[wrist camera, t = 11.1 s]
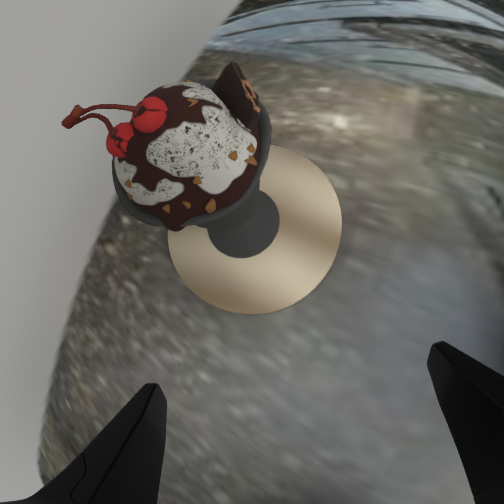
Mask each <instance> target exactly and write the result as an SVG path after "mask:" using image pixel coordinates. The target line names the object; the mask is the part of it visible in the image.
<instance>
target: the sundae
mask: <svg viewBox="0 0 504 504" xmlns="http://www.w3.org/2000/svg"><path fill="white" fill-rule="evenodd" d="M258 99H259V98H258V95H257V94H256V93H255V92H253V90H252V88H251V86H250V84H249V83H248V81H247V80H246V78H245V77H244V75H243V74H242V71H241V69H240V67H239V65H238V64H237V63H235V62H230V63H229V64H228V65H227V66H226V67H225V69H224V70H223V72H222V73H221V75H220V76H219V77H218V79H217V80H197V81H189V80H186V82H178V83H172V84H168V85H164V86H161V87H159V88H157V89H155V90H154V91H152V92H150V93H149V94H148V95H147V96H145V97H144V99H143V100H142V101H141V102H140V103H138V104H137V106H128V105H117V104H100V105H94V106H91V107H88V108H86V109H83V108H81V107H80V106H79V105H76V106H75V107H74V108H73V110H72V112H71V113H70V115H68V116H67V117H66V118H65V119H64V120H63V121H62V126H64V127H65V128H67V129H70V128H72V127H73V126H74V125H76V124H78V123H80V122H82V121H83V120H86V119H88V118H92V117H93V118H98V119H99V120H101V121H103V122H104V123H105V124H106V127H107V129H108V131H109V134H108V136H107V141H106V146H107V150H108V152H109V153H110V154H112V155H113V160H112V174H113V181H114V186H115V190H116V192H117V195H118V197H119V199H120V201H121V203H122V205H123V206H124V208H125V209H126V210H127V212H128V213H129V214H130V215H131V216H133V217H134V218H136V219H137V220H139V221H141V222H144V223H146V224H149V225H153V226H162V227H166V228H167V229H169V230H170V231H174V232H177V231H180V230H182V229H183V228H185V227H186V226H191V225H196V226H198V227H201V228H206V229H207V231H208V235H209V238H210V241H211V242H212V244H213V245H214V246H215V247H216V249H217V250H218V251H220V252H221V253H223V254H225V255H227V256H229V257H233V258H249V257H252V256H255V255H258V254H260V253H261V252H263V251H264V250H265V249H266V248H268V247H269V246H270V245H271V244H272V242H273V240H274V239H275V237H276V235H277V233H278V230H279V224H280V216H279V212H278V209H277V206H276V204H275V202H274V201H273V200H272V199H271V198H270V197H269V196H268V195H267V194H266V193H264V192H263V191H261V190H259V188H260V176H261V174H262V172H263V169H264V167H265V164H266V162H267V159H268V155H269V150H270V144H271V130H272V127H271V123H270V119H269V115H268V113H267V111H266V109H265V107H264V106H263V105H262V104H261V103H260V101H259V100H258ZM95 109H119V110H127V111H131V112H133V114H132V118H131V121H130V123H129V122H127V123H120V124H118V125H117V126H115V127H114V128H113V126H112V124H111V123H110V121H109V120H108V119H107V118H106V117H105V116H103V115H100V114H97V113H90V114H88V115H86V116H84V117H82V118H80V116H82V115H84V114H85V113H87V112H89V111H92V110H95Z"/></svg>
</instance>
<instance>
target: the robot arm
mask: <svg viewBox="0 0 504 504" xmlns="http://www.w3.org/2000/svg"><path fill="white" fill-rule="evenodd" d="M427 367H428V370H429V373H430V376H431V379H432V382H433V386H434V389H435V392H436V395H437V399H438V402H439V404H440V407H441V410H442V412H443V414H444V417H445V419H446V422H447V424H448V427H449V429H450V432H451V434H452V437H453V439H454V442H455V445H456V447H457V450H458V453H459V455H460V458H461V461H462V464H463V467H464V469H465V472H466V475H467V478H468V481H469V484H470V488H471V491H472V494H473V497H474V501H475V504H504V376H502V375H500V374H499V373H497V372H495V371H494V370H492V369H490V368H489V367H487V366H485V365H484V364H482V363H480V362H479V361H477V360H475V359H474V358H472V357H470V356H468V355H467V354H465V353H463V352H462V351H460V350H458V349H457V348H455V347H453V346H451V345H450V344H448V343H446V342H444V341H440V342H437V343H434V344H433V345H432V346H431V349H430V353H429V356H428V360H427ZM166 417H167V400H166V398H165V396H164V394H163V392H162V390H161V388H160V386H159V385H158V384H157V383H147V384H145V385H144V386H143V387H142V388H141V389H140V390H139V391H138V392H137V393H136V394H135V395H134V397H133V398H132V399H131V400H130V401H129V402H128V403H127V404H126V405H125V406H124V407H123V408H122V409H121V410H120V412H119V413H118V414H117V415H116V416H115V417H114V418H113V419H112V420H111V421H110V422H109V423H108V424H107V425H106V426H105V428H104V429H103V430H102V431H101V432H100V433H99V434H98V435H97V436H96V437H95V438H94V439H93V440H92V441H91V442H90V444H89V445H88V446H87V447H86V448H85V449H84V450H83V452H81V453H80V454H79V455H78V456H77V457H76V458H75V459H74V460H73V461H72V462H71V463H70V464H69V465H68V466H67V467H66V468H65V469H64V470H63V471H62V472H61V473H59V474H58V475H57V476H56V477H55V478H54V479H52V480H51V481H50V482H49V483H48V484H46V485H45V486H44V487H43V488H41V489H40V490H39V491H38V492H37V493H35V494H34V495H32V496H30V497H28V498H26V499H23V500H18V501H10V502H1V503H0V504H157V498H158V491H159V484H160V477H161V470H162V463H163V457H164V450H165V441H166Z"/></svg>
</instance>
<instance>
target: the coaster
mask: <svg viewBox="0 0 504 504" xmlns="http://www.w3.org/2000/svg"><path fill="white" fill-rule="evenodd" d="M259 190H261V191H263V192H264V193H266V194H267V195H268V196H269V197H270V198H271V199H272V200H273V201H274V202H275V204H276V206H277V209H278V212H279V216H280V224H279V230H278V233H277V235H276V237H275V239H274V240H273V242H272V244H271V245H270V246H269V247H268V248H266V249H265V250H264V251H263V252H261V253H260V254H258V255H255V256H252V257H249V258H233V257H229V256H227V255H225V254H223V253H221V252H220V251H218V250H217V249H216V247H215V246H214V245H213V244H212V242H211V241H210V238H209V235H208V231H207V229H206V228H201V227H198V226H196V225H191V226H186V227H185V228H183V229H182V230H180V231H177V232H174V231H170V230H169V229H168V245H169V251H170V255H171V259H172V261H173V264H174V266H175V269H176V270H177V272H178V274H179V276H180V278H181V279H182V280H183V282H184V283H185V284H186V286H187V287H188V288H189V289H190V290H191V291H192V292H193V293H194V294H195V295H197V296H198V297H199V298H201V299H202V300H203V301H205V302H207V303H209V304H211V305H212V306H214V307H217V308H220V309H222V310H225V311H230V312H234V313H241V314H265V313H270V312H275V311H278V310H281V309H284V308H287V307H289V306H291V305H293V304H295V303H297V302H299V301H300V300H302V299H303V298H305V297H306V296H307V295H309V294H310V293H311V292H312V291H313V290H314V289H315V288H316V287H317V286H318V285H319V284H320V283H321V281H322V280H323V279H324V278H325V276H326V275H327V273H328V271H329V270H330V268H331V266H332V264H333V262H334V260H335V257H336V254H337V250H338V247H339V244H340V238H341V231H342V218H341V210H340V205H339V202H338V198H337V195H336V193H335V191H334V189H333V187H332V185H331V183H330V182H329V180H328V178H327V177H326V176H325V175H324V173H323V172H322V171H321V170H320V169H319V168H318V167H317V166H316V165H315V164H314V163H313V162H311V161H310V160H309V159H307V158H306V157H304V156H303V155H301V154H299V153H297V152H295V151H292V150H290V149H287V148H284V147H280V146H275V145H270V150H269V155H268V159H267V162H266V164H265V167H264V169H263V172H262V174H261V176H260V188H259Z"/></svg>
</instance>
